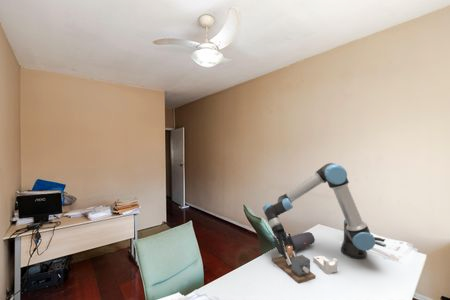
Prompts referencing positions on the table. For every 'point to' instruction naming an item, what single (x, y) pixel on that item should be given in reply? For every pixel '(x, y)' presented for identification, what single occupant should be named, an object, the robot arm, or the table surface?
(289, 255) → the shaft
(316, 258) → the bracket
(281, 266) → the walnut board
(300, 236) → the bluetooth speaker
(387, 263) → the table surface
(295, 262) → the bearing block
